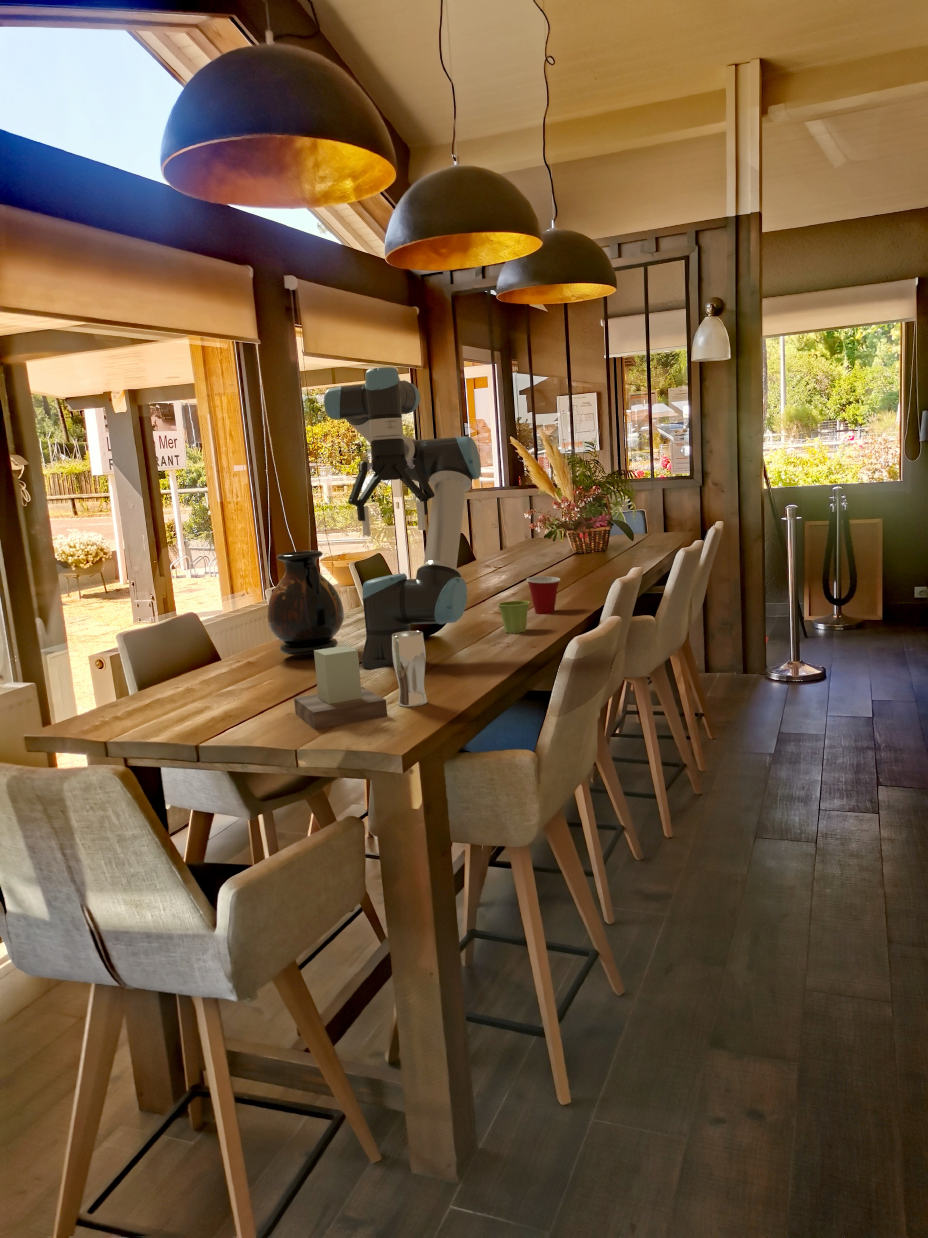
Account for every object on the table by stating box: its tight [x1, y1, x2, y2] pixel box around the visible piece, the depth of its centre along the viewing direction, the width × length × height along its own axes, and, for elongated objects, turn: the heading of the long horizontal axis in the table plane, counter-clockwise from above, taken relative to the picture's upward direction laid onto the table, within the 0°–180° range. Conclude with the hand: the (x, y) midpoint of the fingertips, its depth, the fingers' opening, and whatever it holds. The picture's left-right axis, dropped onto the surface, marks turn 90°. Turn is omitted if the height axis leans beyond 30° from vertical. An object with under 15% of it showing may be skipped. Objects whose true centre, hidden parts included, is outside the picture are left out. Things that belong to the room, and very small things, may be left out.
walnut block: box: [293, 686, 388, 730], centre depth 191 cm, size 15×15×4 cm
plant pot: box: [497, 600, 531, 634], centre depth 271 cm, size 9×9×9 cm
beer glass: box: [392, 630, 428, 708], centre depth 196 cm, size 7×7×15 cm
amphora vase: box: [266, 550, 345, 656], centre depth 265 cm, size 22×22×28 cm
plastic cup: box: [526, 575, 561, 615], centre depth 298 cm, size 11×11×12 cm
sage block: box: [313, 645, 362, 704], centre depth 191 cm, size 7×7×10 cm
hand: (394, 532), depth 213 cm, fingers open, 13 cm apart
